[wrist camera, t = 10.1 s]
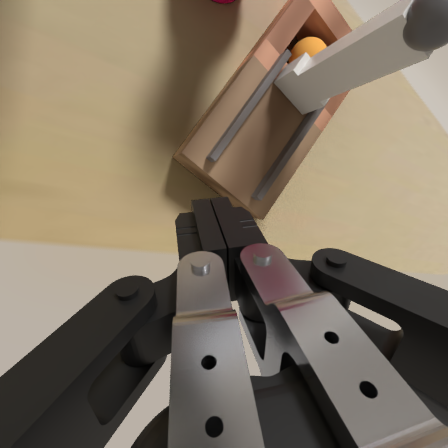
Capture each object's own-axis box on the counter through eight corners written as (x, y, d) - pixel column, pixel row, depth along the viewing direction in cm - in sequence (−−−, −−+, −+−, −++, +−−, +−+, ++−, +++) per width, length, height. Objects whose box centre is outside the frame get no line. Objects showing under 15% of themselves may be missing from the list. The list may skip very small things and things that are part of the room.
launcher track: (172, 157, 27) (185, 151, 22) (287, 0, 29) (322, -36, 25) (245, 215, 31) (269, 221, 26) (342, 72, 33) (381, 53, 28)
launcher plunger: (270, 86, 25) (432, -14, 13) (288, 62, 26) (463, -61, 13) (299, 118, 27) (470, 58, 14) (315, 95, 27) (496, 15, 15)
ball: (280, 55, 31) (280, 65, 28) (311, 23, 28) (314, 30, 26) (303, 82, 32) (305, 94, 29) (334, 54, 30) (339, 64, 27)
